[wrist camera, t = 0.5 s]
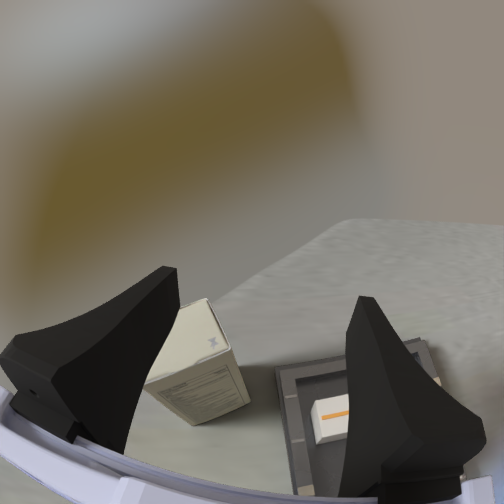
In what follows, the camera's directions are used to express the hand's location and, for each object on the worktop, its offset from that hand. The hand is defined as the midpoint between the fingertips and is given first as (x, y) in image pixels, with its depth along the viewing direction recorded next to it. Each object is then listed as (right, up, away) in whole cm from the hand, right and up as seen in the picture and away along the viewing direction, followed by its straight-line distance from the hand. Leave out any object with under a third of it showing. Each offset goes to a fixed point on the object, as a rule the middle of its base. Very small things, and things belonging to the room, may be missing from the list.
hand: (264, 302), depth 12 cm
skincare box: (-4, -12, +15) cm, 20 cm away
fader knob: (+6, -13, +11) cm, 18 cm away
